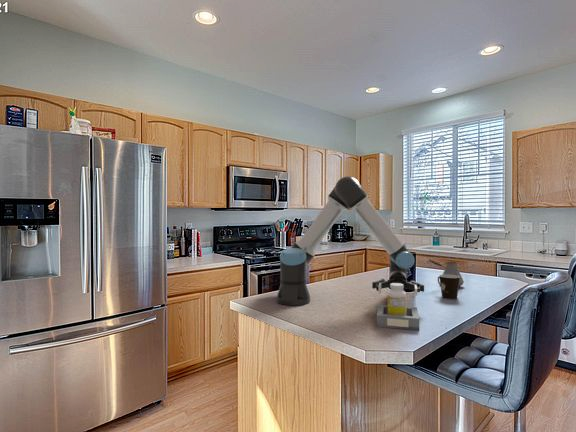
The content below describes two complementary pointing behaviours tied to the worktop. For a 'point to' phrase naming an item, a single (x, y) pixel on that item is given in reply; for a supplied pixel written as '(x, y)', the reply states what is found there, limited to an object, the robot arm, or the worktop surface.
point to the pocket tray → (398, 318)
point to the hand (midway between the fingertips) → (397, 291)
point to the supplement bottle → (397, 300)
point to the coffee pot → (450, 270)
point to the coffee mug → (449, 286)
